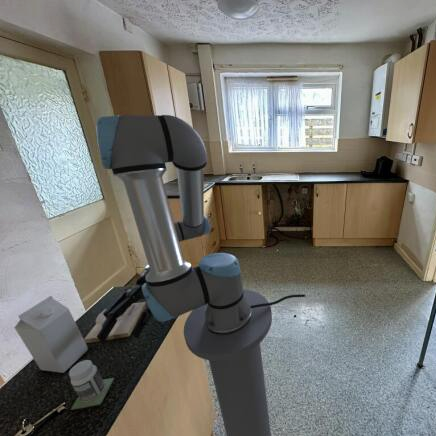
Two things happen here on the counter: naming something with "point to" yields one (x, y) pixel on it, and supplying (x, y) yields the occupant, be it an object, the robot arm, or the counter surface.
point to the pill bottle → (86, 380)
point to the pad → (97, 400)
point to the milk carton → (51, 335)
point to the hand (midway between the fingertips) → (117, 337)
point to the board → (118, 323)
